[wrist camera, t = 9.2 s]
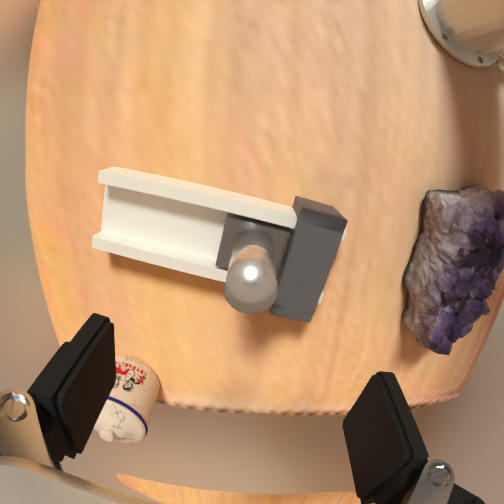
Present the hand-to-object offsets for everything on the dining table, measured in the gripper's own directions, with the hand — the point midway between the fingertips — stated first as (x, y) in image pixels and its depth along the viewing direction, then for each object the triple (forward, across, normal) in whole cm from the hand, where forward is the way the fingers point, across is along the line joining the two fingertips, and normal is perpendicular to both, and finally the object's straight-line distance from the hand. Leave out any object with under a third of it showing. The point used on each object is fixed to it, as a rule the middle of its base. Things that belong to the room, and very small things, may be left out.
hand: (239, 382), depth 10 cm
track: (+23, +4, +2) cm, 23 cm away
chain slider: (+21, -3, +2) cm, 21 cm away
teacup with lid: (+22, +13, +27) cm, 38 cm away
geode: (+23, -23, 0) cm, 33 cm away
